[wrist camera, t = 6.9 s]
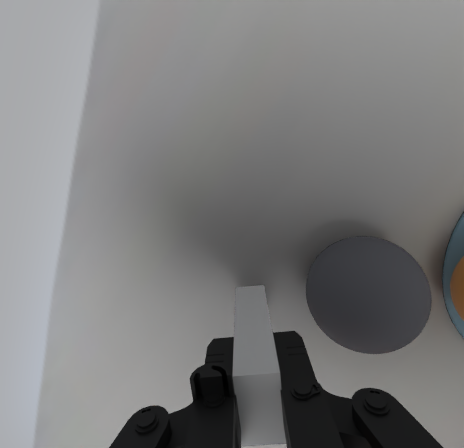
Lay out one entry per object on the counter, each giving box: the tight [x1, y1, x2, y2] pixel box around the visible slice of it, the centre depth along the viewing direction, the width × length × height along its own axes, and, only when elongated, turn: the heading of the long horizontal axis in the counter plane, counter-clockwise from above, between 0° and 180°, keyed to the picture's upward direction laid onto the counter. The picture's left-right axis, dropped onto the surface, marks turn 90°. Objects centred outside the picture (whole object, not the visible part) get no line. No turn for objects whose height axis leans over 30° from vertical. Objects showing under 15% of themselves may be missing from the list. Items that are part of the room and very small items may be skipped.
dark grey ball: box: [306, 236, 432, 354], centre depth 15 cm, size 6×6×6 cm
